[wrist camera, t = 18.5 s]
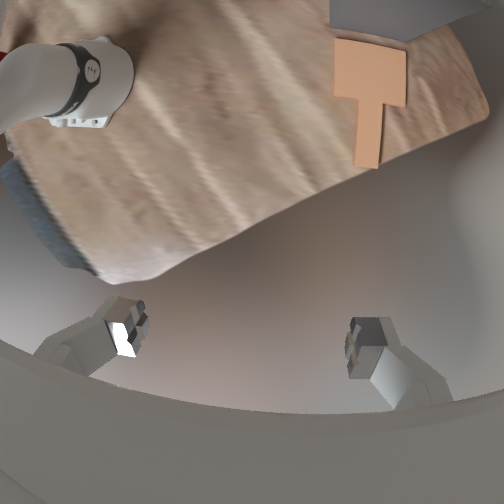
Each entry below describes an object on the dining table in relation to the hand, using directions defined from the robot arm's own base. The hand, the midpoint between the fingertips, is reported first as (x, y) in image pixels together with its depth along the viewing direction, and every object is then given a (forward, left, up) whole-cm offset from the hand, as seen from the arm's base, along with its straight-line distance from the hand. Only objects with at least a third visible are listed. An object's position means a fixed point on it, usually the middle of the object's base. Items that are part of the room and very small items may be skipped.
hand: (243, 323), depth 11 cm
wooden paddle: (+15, +10, -39) cm, 43 cm away
